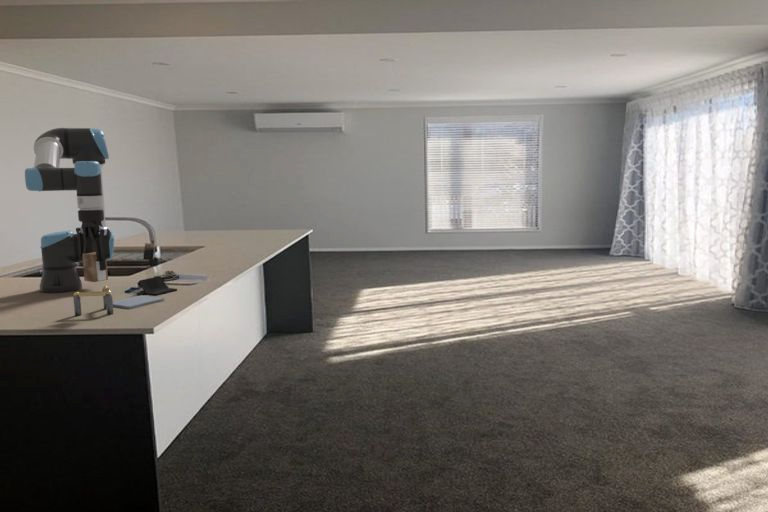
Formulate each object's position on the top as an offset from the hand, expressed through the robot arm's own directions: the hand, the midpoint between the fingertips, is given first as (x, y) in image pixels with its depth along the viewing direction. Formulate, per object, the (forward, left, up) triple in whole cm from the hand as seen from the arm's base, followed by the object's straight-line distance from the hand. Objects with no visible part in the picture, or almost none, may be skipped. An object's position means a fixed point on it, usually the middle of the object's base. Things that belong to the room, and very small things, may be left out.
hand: (96, 279), depth 196 cm
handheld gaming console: (-11, +35, -12) cm, 39 cm away
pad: (-3, +18, -12) cm, 22 cm away
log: (-31, +57, -13) cm, 66 cm away
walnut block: (0, 0, 0) cm, 0 cm away
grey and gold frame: (-1, +2, -12) cm, 12 cm away
